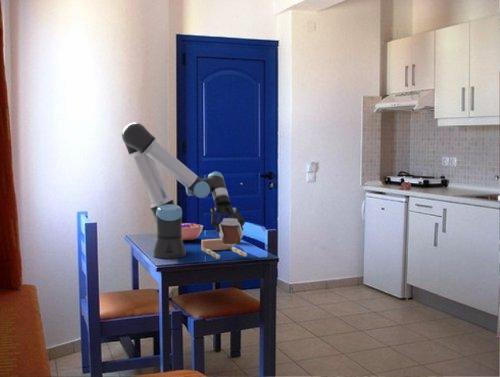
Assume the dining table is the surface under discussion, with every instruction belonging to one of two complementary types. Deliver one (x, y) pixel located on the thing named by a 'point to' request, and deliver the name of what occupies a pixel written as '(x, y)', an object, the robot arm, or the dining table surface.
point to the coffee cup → (229, 231)
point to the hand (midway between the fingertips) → (231, 236)
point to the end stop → (213, 244)
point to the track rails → (219, 255)
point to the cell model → (190, 231)
